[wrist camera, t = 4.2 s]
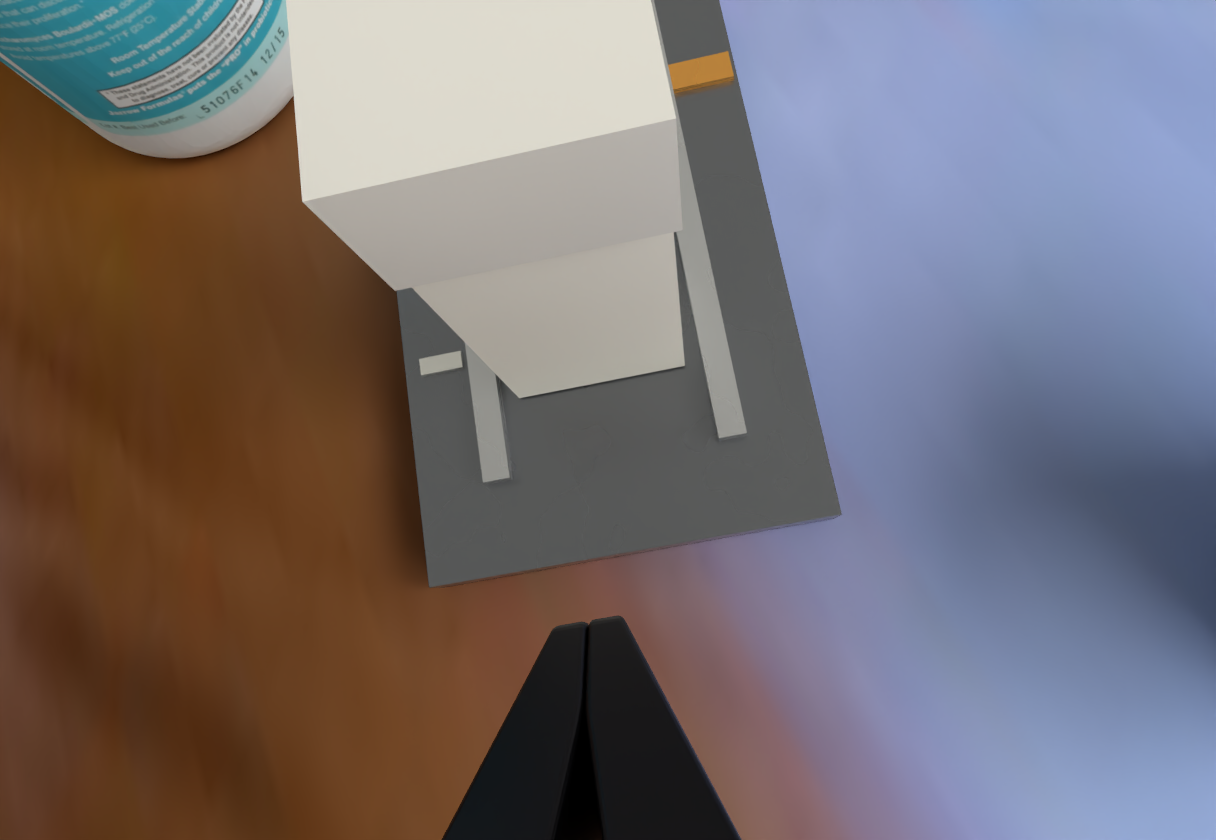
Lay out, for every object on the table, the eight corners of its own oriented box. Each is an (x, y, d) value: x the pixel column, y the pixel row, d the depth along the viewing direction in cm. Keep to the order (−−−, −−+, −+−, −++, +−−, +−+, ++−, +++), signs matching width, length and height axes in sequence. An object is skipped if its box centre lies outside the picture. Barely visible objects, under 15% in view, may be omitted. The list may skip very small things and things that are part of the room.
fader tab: (691, 373, 17) (676, 118, 8) (515, 407, 17) (301, 201, 8) (667, 258, 18) (628, -104, 8) (499, 293, 18) (284, -19, 9)
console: (833, 518, 17) (844, 512, 16) (444, 587, 18) (422, 587, 16) (710, -5, 20) (710, -48, 19) (385, 71, 21) (363, 35, 20)
